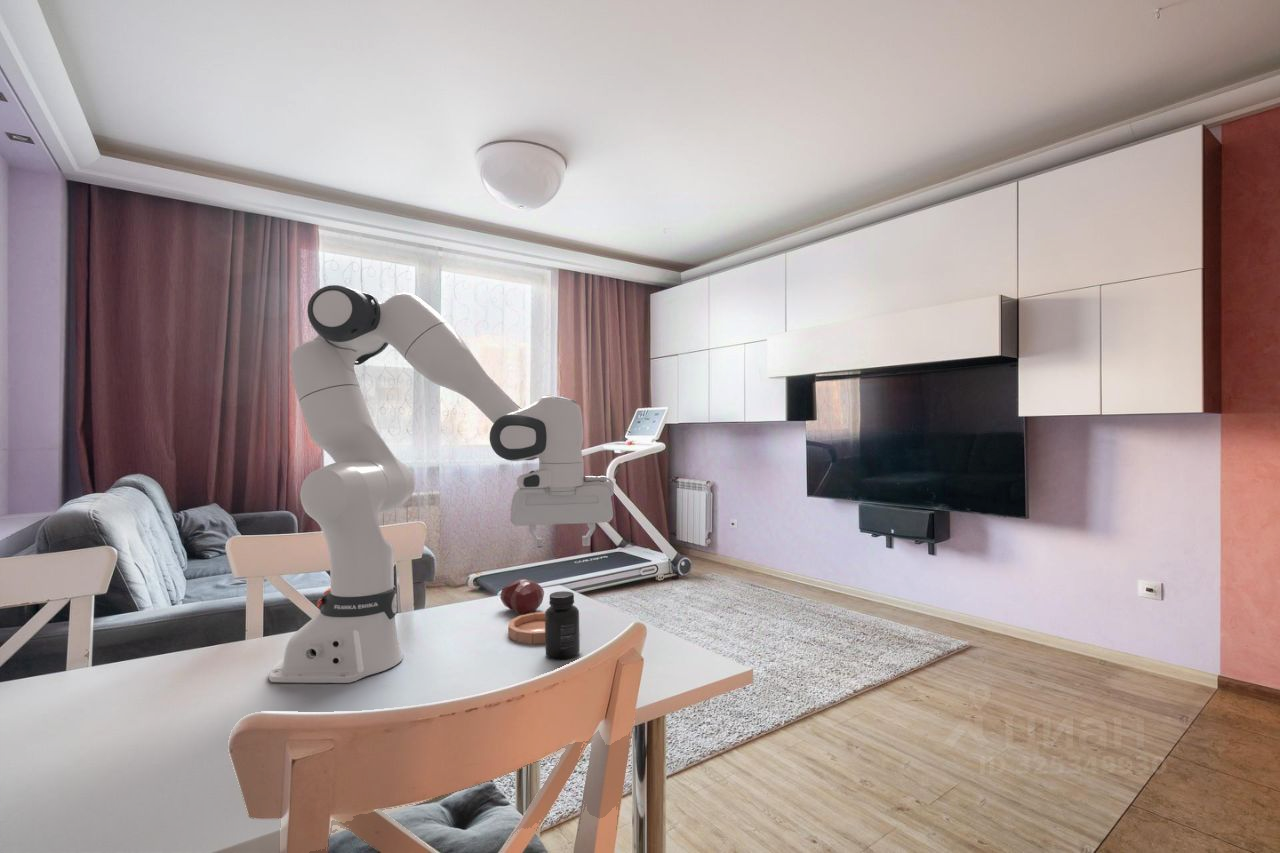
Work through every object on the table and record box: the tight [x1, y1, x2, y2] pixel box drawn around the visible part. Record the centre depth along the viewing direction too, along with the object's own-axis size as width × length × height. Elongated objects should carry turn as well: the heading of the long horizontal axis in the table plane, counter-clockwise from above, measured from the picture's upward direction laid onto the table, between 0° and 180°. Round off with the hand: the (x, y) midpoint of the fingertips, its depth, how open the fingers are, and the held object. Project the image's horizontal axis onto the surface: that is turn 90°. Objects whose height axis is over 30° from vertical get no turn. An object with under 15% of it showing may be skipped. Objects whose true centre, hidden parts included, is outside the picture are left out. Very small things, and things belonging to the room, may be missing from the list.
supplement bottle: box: [544, 590, 581, 661], centre depth 120 cm, size 7×7×12 cm
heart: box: [499, 578, 545, 616], centre depth 149 cm, size 12×8×10 cm
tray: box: [507, 611, 546, 645], centre depth 133 cm, size 14×14×2 cm
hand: (562, 546), depth 120 cm, fingers open, 8 cm apart
